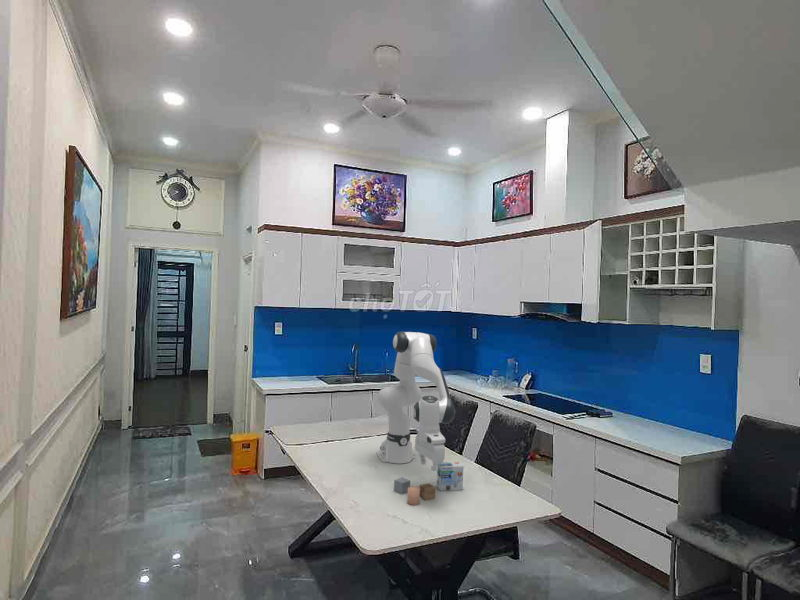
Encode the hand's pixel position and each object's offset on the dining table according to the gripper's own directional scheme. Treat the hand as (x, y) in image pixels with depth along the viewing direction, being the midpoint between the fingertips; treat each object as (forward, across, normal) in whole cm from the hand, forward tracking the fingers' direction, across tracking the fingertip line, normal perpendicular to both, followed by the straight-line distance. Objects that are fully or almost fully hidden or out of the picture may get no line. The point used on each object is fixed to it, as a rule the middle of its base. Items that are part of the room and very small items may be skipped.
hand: (428, 467), depth 216 cm
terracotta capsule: (+13, +2, -8) cm, 16 cm away
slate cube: (+13, -11, -7) cm, 18 cm away
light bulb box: (+13, -6, +15) cm, 21 cm away
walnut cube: (+13, -1, 0) cm, 13 cm away
